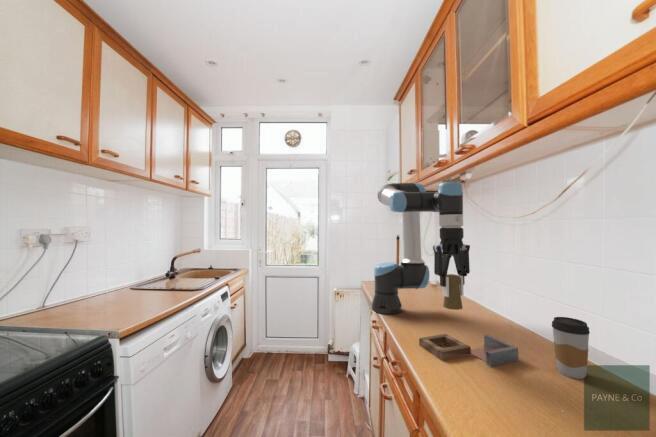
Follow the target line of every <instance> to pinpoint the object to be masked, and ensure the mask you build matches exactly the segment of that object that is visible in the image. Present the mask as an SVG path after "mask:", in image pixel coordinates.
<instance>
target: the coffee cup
mask: <svg viewBox="0 0 656 437" xmlns="http://www.w3.org/2000/svg"><path fill="white" fill-rule="evenodd" d="M551 327H552V333H553V347H554V357H555V361H556V369H557V370H558V372H559V373H560V374H562V375H563V376H565V377H568V378H571V379H577V380H583V378H584V379H585V377H587V370H588V369H587V368H588V362H589V361H588V360H589V338H590V337H589V336H590V327H589V326H588V324H587V322H586V321H583V320H581V319H577V318H572V317H568V316H566V317H565V316H554V317H553V320H552V322H551Z"/></svg>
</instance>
